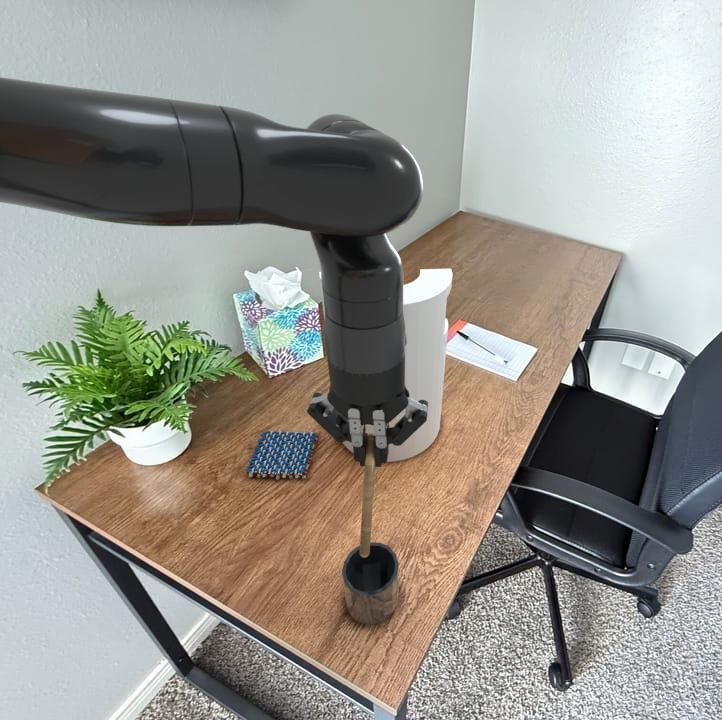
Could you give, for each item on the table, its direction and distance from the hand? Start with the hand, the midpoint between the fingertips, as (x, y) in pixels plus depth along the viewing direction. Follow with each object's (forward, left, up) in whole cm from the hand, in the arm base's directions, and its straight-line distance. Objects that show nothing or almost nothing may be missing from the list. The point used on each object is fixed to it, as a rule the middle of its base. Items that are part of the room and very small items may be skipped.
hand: (372, 460), depth 56 cm
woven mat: (+20, +20, -26) cm, 39 cm away
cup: (-5, 0, -26) cm, 26 cm away
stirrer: (-3, 0, -2) cm, 4 cm away
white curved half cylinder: (+26, +1, -26) cm, 37 cm away
